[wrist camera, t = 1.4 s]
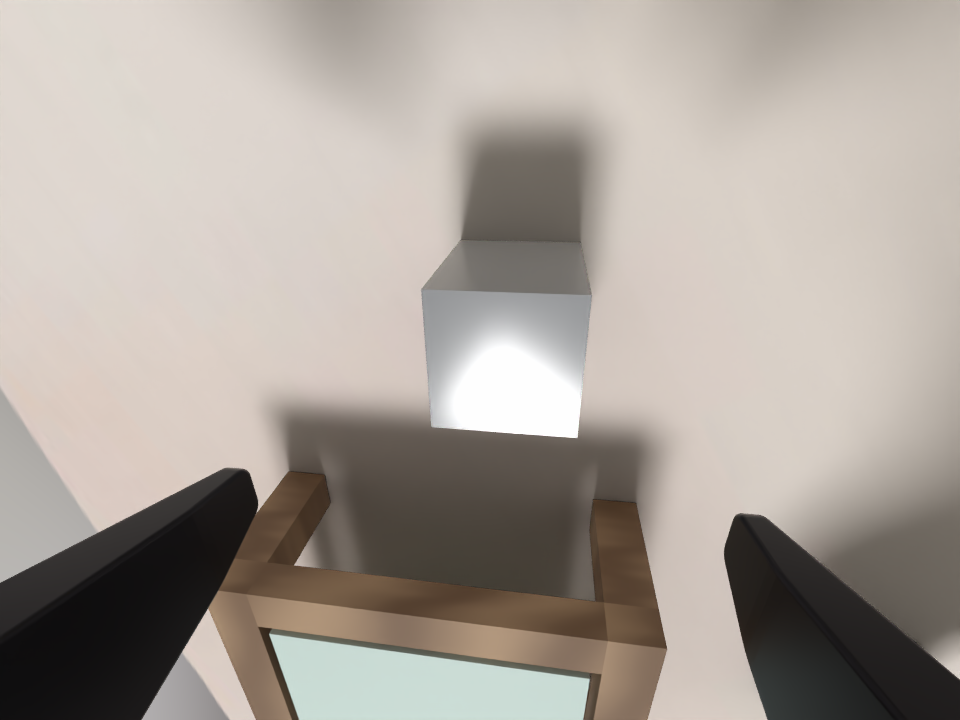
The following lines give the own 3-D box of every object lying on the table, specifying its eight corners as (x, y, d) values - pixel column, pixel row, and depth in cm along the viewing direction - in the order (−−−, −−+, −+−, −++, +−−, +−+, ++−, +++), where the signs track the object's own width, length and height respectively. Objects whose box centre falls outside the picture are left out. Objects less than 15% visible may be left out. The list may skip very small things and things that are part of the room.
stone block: (580, 242, 17) (591, 295, 12) (571, 351, 19) (577, 437, 14) (460, 239, 18) (421, 289, 13) (464, 345, 20) (431, 427, 15)
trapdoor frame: (636, 503, 22) (667, 648, 16) (597, 707, 30) (608, 856, 24) (288, 471, 25) (199, 588, 18) (339, 669, 33) (288, 796, 27)
